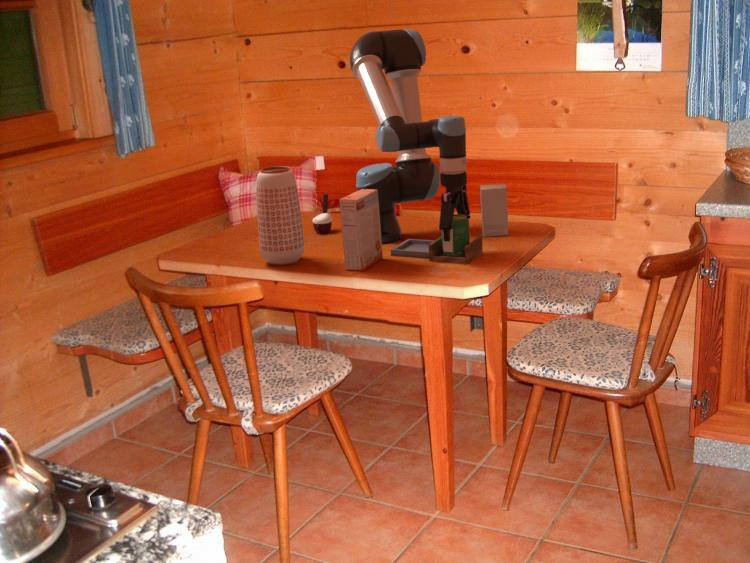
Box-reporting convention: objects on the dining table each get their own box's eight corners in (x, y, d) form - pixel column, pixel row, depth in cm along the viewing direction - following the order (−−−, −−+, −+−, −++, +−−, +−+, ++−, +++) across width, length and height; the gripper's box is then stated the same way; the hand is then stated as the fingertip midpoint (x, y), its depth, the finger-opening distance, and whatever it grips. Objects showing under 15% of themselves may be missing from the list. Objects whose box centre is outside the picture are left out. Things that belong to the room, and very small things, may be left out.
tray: (390, 255, 257) (390, 249, 256) (408, 244, 268) (408, 238, 267) (431, 258, 251) (430, 252, 251) (447, 247, 262) (447, 241, 262)
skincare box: (507, 231, 276) (506, 183, 271) (508, 236, 270) (507, 187, 265) (481, 232, 277) (480, 184, 272) (481, 237, 271) (480, 188, 266)
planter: (274, 254, 266) (265, 164, 258) (313, 256, 261) (305, 164, 252) (253, 266, 254) (243, 172, 246) (293, 269, 249) (284, 173, 241)
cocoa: (321, 237, 285) (317, 202, 281) (307, 234, 289) (304, 199, 285) (340, 229, 292) (337, 195, 287) (327, 226, 296) (324, 193, 291)
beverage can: (471, 253, 254) (470, 213, 250) (468, 260, 247) (467, 220, 243) (444, 253, 256) (442, 214, 252) (440, 260, 248) (439, 220, 245)
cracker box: (365, 256, 257) (360, 188, 251) (383, 258, 255) (379, 188, 248) (343, 270, 245) (338, 198, 239) (362, 271, 243) (357, 199, 237)
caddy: (429, 261, 249) (428, 244, 247) (444, 250, 259) (444, 234, 257) (468, 264, 243) (467, 247, 242) (482, 252, 254) (482, 236, 252)
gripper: (450, 180, 232) (453, 257, 239) (479, 164, 252) (481, 236, 259) (424, 179, 235) (428, 256, 242) (455, 163, 255) (458, 235, 262)
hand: (455, 246), depth 250 cm, fingers open, 11 cm apart
